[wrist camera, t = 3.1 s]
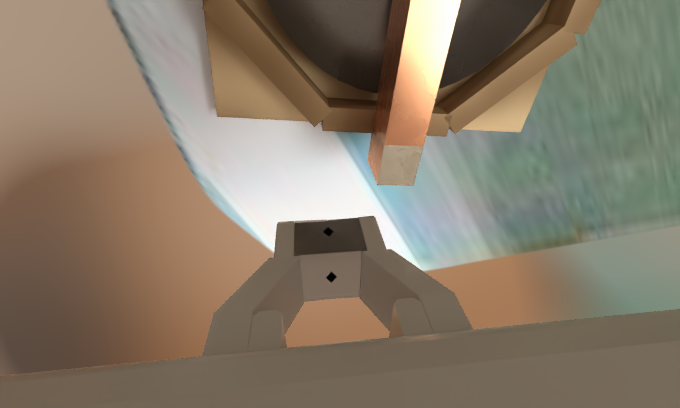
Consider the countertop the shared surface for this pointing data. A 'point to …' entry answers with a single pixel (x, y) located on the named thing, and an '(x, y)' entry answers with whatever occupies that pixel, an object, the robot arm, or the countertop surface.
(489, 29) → the dial
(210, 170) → the countertop surface
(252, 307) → the robot arm
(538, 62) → the dial housing
